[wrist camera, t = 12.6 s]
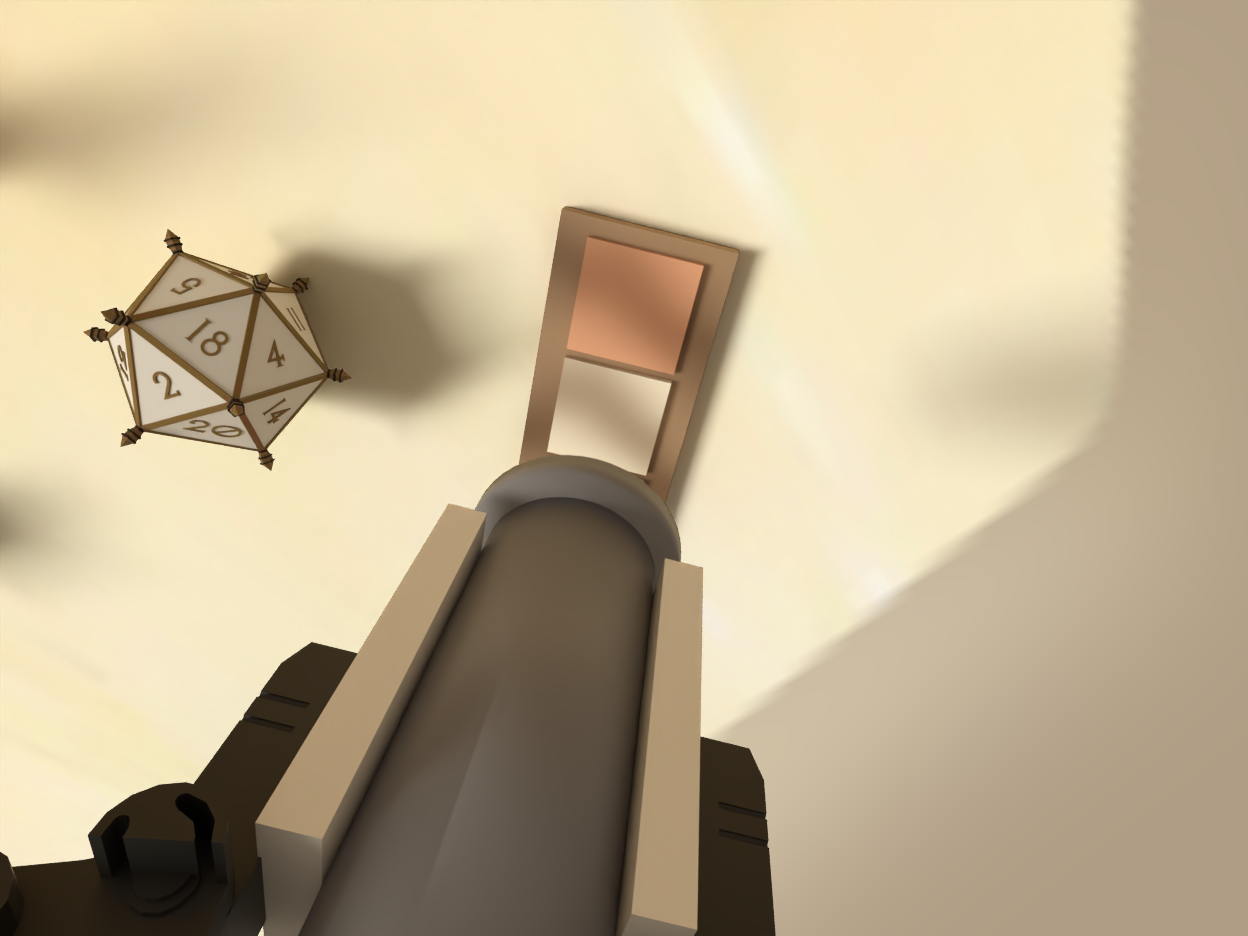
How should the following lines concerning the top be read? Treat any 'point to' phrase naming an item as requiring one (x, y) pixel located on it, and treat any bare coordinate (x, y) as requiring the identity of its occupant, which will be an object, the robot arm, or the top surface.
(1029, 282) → the top surface
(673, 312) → the track
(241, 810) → the robot arm
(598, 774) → the pawn
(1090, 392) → the top surface
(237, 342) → the game die
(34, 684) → the top surface
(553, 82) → the top surface
